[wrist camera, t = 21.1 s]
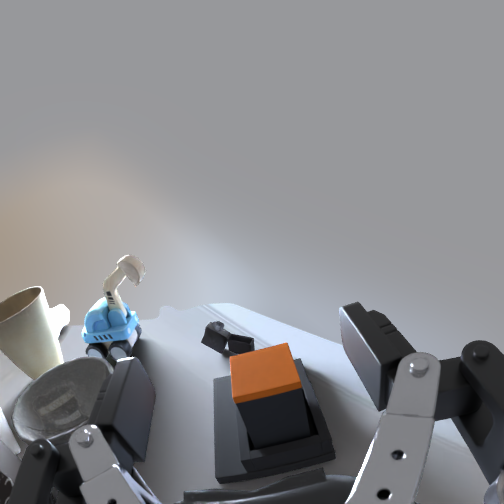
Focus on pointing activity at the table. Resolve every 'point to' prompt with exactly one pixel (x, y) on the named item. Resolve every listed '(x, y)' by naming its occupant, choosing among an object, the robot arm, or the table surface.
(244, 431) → the dark square socket base
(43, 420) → the bowl
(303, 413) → the black and orange block
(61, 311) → the stone
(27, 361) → the plant pot
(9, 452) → the barrel
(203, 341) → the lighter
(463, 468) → the table surface
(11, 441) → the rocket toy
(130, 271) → the toy excavator
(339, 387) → the table surface
